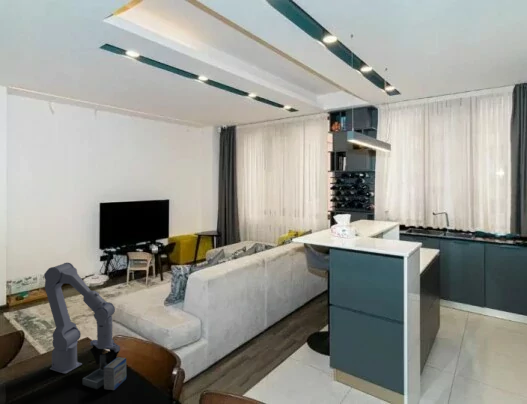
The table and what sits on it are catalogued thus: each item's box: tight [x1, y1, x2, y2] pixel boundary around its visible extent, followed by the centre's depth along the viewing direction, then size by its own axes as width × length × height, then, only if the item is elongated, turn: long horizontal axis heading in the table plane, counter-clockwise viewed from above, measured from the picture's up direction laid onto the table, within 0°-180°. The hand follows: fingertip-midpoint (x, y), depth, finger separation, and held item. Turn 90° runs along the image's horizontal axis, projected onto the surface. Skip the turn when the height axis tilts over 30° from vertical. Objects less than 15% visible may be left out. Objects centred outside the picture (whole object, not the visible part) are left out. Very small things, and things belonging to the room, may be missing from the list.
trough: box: [82, 368, 104, 390], centre depth 127 cm, size 8×8×2 cm
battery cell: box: [99, 350, 110, 370], centre depth 136 cm, size 4×4×8 cm
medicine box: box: [103, 356, 127, 391], centre depth 126 cm, size 8×4×9 cm, turn 168°
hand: (105, 365), depth 136 cm, fingers open, 6 cm apart
